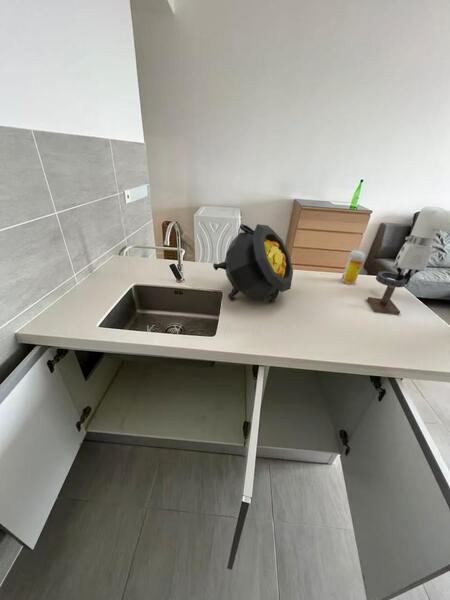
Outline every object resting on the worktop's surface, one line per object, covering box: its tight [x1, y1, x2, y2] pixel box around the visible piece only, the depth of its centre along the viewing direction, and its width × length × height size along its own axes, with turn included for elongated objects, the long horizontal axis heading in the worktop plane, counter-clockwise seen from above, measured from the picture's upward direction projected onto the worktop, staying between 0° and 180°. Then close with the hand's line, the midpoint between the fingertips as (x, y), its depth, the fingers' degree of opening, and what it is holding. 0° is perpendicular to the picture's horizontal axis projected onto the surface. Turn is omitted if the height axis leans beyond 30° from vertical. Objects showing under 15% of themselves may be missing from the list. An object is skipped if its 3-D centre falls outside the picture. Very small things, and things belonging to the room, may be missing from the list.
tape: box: [375, 270, 407, 288], centre depth 104 cm, size 11×11×2 cm
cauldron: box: [212, 223, 294, 303], centre depth 95 cm, size 28×28×24 cm
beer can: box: [341, 249, 366, 285], centre depth 113 cm, size 6×6×15 cm
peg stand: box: [366, 285, 401, 316], centre depth 96 cm, size 9×9×10 cm
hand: (401, 282), depth 104 cm, fingers closed on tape, 1 cm apart
